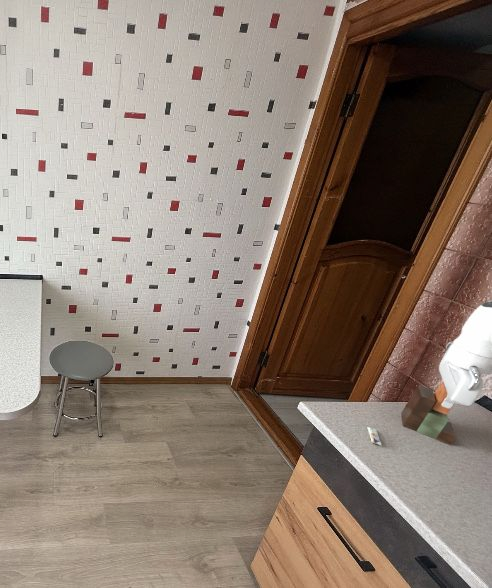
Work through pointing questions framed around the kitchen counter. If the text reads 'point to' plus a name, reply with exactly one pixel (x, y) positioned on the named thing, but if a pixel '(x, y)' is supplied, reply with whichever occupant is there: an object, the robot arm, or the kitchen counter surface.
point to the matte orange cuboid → (440, 399)
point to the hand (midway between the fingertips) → (443, 400)
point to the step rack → (427, 416)
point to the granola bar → (374, 436)
